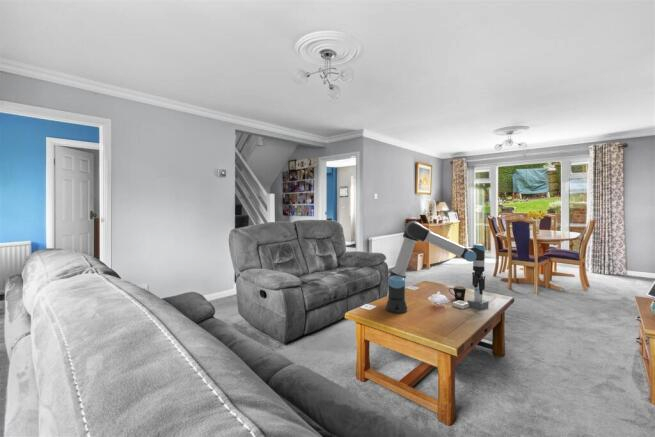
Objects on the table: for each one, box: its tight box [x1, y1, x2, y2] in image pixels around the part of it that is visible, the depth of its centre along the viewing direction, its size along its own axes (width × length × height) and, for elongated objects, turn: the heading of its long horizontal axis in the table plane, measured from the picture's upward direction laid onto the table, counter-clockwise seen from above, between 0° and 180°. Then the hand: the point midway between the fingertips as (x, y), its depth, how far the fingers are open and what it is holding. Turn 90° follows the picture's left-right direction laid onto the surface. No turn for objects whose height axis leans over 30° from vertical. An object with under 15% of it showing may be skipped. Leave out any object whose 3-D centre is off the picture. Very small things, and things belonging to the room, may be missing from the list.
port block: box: [467, 297, 489, 310], centre depth 228 cm, size 10×10×5 cm
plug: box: [473, 287, 483, 302], centre depth 227 cm, size 4×4×10 cm
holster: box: [452, 300, 470, 310], centre depth 228 cm, size 8×8×4 cm
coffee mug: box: [448, 285, 467, 301], centre depth 246 cm, size 12×9×10 cm
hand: (478, 297), depth 227 cm, fingers closed on plug, 5 cm apart
